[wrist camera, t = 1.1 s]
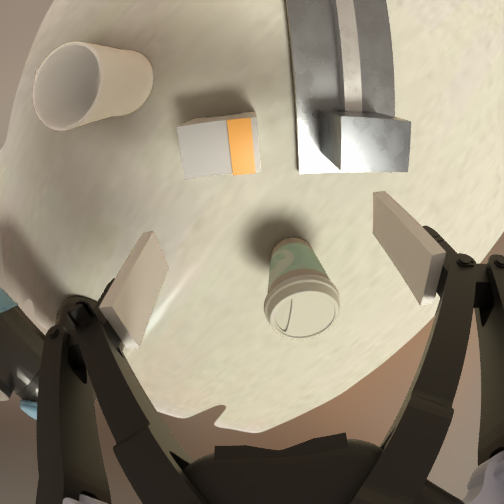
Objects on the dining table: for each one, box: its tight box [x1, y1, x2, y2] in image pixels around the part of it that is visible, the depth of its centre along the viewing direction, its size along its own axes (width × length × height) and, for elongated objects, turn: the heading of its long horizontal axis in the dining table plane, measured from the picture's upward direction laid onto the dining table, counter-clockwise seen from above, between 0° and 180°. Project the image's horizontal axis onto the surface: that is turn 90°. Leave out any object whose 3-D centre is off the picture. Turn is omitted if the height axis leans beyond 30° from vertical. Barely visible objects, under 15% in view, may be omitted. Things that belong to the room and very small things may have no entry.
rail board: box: [285, 0, 411, 174], centre depth 20 cm, size 30×12×9 cm, turn 5°
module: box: [176, 112, 261, 179], centre depth 26 cm, size 5×7×8 cm
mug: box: [33, 41, 154, 131], centre depth 20 cm, size 12×8×12 cm
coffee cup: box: [264, 238, 340, 340], centre depth 34 cm, size 8×8×12 cm
